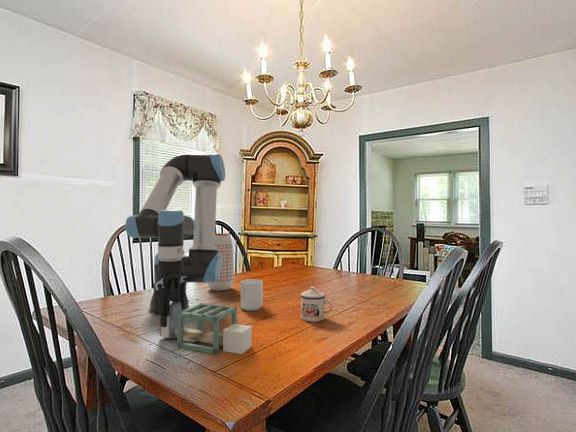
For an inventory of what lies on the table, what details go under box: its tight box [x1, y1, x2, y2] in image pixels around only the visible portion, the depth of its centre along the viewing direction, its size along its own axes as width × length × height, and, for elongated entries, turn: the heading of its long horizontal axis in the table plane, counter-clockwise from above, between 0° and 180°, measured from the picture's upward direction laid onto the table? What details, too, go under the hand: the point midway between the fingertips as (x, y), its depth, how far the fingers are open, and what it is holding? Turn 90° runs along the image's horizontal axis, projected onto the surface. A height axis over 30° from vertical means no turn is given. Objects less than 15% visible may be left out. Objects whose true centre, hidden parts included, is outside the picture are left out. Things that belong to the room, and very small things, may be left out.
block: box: [222, 323, 253, 355], centre depth 103 cm, size 6×6×6 cm
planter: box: [207, 232, 235, 292], centre depth 180 cm, size 13×13×28 cm
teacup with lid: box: [300, 286, 334, 323], centre depth 132 cm, size 12×9×12 cm
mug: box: [240, 278, 264, 312], centre depth 147 cm, size 12×9×11 cm
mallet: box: [159, 301, 223, 346], centre depth 108 cm, size 23×4×10 cm, turn 69°
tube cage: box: [176, 302, 238, 355], centre depth 106 cm, size 13×11×10 cm
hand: (170, 334), depth 111 cm, fingers closed on mallet, 4 cm apart
